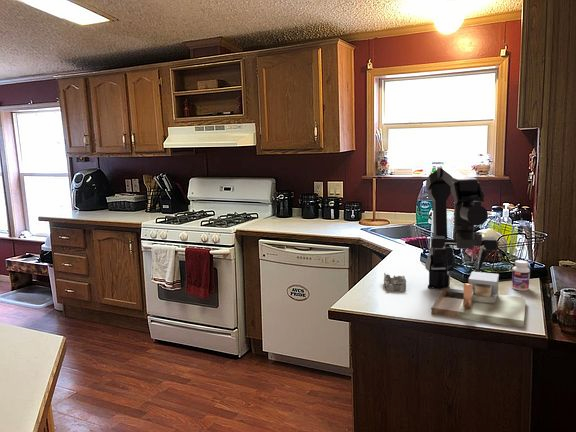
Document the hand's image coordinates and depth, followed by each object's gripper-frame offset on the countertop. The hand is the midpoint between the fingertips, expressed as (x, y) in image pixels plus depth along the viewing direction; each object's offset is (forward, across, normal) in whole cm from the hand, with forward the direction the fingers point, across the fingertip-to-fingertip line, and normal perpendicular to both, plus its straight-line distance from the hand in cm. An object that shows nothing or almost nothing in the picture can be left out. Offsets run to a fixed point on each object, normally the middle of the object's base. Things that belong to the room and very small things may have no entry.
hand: (462, 270), depth 141 cm
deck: (+13, +6, +2) cm, 14 cm away
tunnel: (+11, +7, +6) cm, 14 cm away
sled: (+10, +5, +1) cm, 12 cm away
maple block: (+11, +7, +6) cm, 14 cm away
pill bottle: (+13, +21, +26) cm, 36 cm away
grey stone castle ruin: (+13, -21, +19) cm, 31 cm away
